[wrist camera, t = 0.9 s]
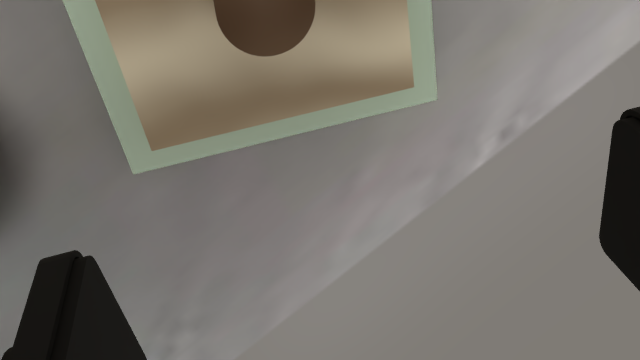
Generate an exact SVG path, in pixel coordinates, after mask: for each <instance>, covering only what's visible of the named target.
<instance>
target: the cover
mask: <svg viewBox="0 0 640 360" xmlns="http://www.w3.org/2000/svg"><path fill="white" fill-rule="evenodd" d="M95 2H96V4H97V7H98V10H99V12H100V15H101V18H102V20H103V23H104V26H105V28H106V31H107V34H108V36H109V39H110V42H111V44H112V47H113V50H114V52H115V55H116V58H117V60H118V63H119V66H120V68H121V71H122V74H123V76H124V79H125V82H126V84H127V87H128V90H129V92H130V95H131V98H132V100H133V103H134V105H135V108H136V111H137V113H138V116H139V119H140V121H141V124H142V127H143V129H144V132H145V135H146V137H147V140H148V143H149V145H150V148H151V151H155V150H159V149H163V148H167V147H171V146H175V145H179V144H183V143H188V142H192V141H196V140H200V139H204V138H208V137H212V136H216V135H220V134H224V133H229V132H233V131H237V130H241V129H245V128H249V127H253V126H257V125H261V124H266V123H270V122H274V121H278V120H282V119H286V118H290V117H294V116H298V115H302V114H307V113H311V112H315V111H319V110H323V109H327V108H331V107H335V106H339V105H344V104H348V103H352V102H356V101H360V100H364V99H368V98H372V97H376V96H380V95H385V94H389V93H393V92H397V91H401V90H405V89H409V88H413V87H414V78H413V66H412V54H411V43H410V31H409V19H408V7H407V0H95Z"/></svg>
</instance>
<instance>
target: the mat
mask: <svg viewBox="0 0 640 360" xmlns="http://www.w3.org/2000/svg"><path fill="white" fill-rule="evenodd" d="M63 3H64V5H65V8H66V10H67V13H68V15H69V18H70V20H71V23H72V25H73V27H74V30H75V32H76V35H77V37H78V40H79V42H80V45H81V47H82V50H83V52H84V55H85V57H86V59H87V62H88V64H89V67H90V69H91V72H92V74H93V77H94V79H95V82H96V84H97V87H98V89H99V91H100V94H101V96H102V99H103V101H104V104H105V106H106V109H107V111H108V114H109V116H110V118H111V121H112V123H113V126H114V128H115V131H116V133H117V136H118V138H119V141H120V143H121V146H122V148H123V150H124V153H125V155H126V158H127V160H128V163H129V165H130V168H131V170H132V173H133V175H134V174H138V173H142V172H146V171H150V170H154V169H158V168H162V167H166V166H170V165H175V164H179V163H183V162H187V161H191V160H195V159H199V158H203V157H207V156H211V155H215V154H219V153H223V152H227V151H231V150H236V149H240V148H244V147H248V146H252V145H256V144H260V143H264V142H268V141H272V140H276V139H280V138H284V137H288V136H292V135H296V134H301V133H305V132H309V131H313V130H317V129H321V128H325V127H329V126H333V125H337V124H341V123H345V122H349V121H353V120H357V119H362V118H366V117H370V116H374V115H378V114H382V113H386V112H390V111H394V110H398V109H402V108H406V107H410V106H414V105H418V104H422V103H427V102H431V101H435V100H437V85H436V69H435V52H434V36H433V20H432V3H431V0H407V7H408V19H409V31H410V43H411V54H412V66H413V78H414V87H413V88H409V89H405V90H401V91H397V92H393V93H389V94H385V95H380V96H376V97H372V98H368V99H364V100H360V101H356V102H352V103H348V104H344V105H339V106H335V107H331V108H327V109H323V110H319V111H315V112H311V113H307V114H302V115H298V116H294V117H290V118H286V119H282V120H278V121H274V122H270V123H266V124H261V125H257V126H253V127H249V128H245V129H241V130H237V131H233V132H229V133H224V134H220V135H216V136H212V137H208V138H204V139H200V140H196V141H192V142H188V143H183V144H179V145H175V146H171V147H167V148H163V149H159V150H155V151H151V148H150V145H149V143H148V140H147V137H146V135H145V132H144V129H143V127H142V124H141V121H140V119H139V116H138V113H137V111H136V108H135V105H134V103H133V100H132V98H131V95H130V92H129V90H128V87H127V84H126V82H125V79H124V76H123V74H122V71H121V68H120V66H119V63H118V60H117V58H116V55H115V52H114V50H113V47H112V44H111V42H110V39H109V36H108V34H107V31H106V28H105V26H104V23H103V20H102V18H101V15H100V12H99V10H98V7H97V4H96V2H95V0H63Z"/></svg>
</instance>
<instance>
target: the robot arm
mask: <svg viewBox="0 0 640 360" xmlns="http://www.w3.org/2000/svg"><path fill="white" fill-rule="evenodd" d="M599 238H600V243H601V246H602V248H603V250H604V252H605V253H606V255H607V256H608V257H609V258H610V259H611V260H612V261H613V262H614V263H615V264H616V266H617V267H618V268H619V269H620V270H621V271H622V272H623V273H624V274H625V276H626V277H627V278H628V279H629V280H630V281H631V282H632V283H633V284H634V285H635V287H636V288H637V289H638V290H639V291H640V107H637V108H633V109H629V110H626V111H625V112H623V114H622V115H621V118H620V120H618V121H617V122H616V123H615V124H614V126H613V130H612V138H611V146H610V154H609V162H608V170H607V177H606V185H605V194H604V202H603V209H602V217H601V225H600V234H599ZM1 360H147V359H146V356H145V354H144V352H143V350H142V349H141V347H140V345H139V343H138V341H137V339H136V337H135V335H134V333H133V331H132V329H131V327H130V326H129V324H128V322H127V320H126V318H125V316H124V314H123V312H122V310H121V308H120V306H119V304H118V303H117V301H116V299H115V297H114V295H113V293H112V291H111V289H110V287H109V285H108V283H107V281H106V280H105V278H104V276H103V274H102V272H101V270H100V268H99V266H98V264H97V262H96V261H95V259H94V258H93V257H92V256H86V257H83V256H82V254H81V253H80V252H79V251H76V250H74V251H70V252H66V253H63V254H59V255H55V256H51V257H47V258H43V259H42V260H40V262H39V264H38V267H37V270H36V273H35V276H34V280H33V283H32V286H31V289H30V293H29V296H28V299H27V302H26V306H25V309H24V312H23V315H22V319H21V322H20V325H19V328H18V332H17V335H16V338H15V341H14V345H13V347H12V348H9V349H8V350H7V351H6V352H5V353H4V355H3V357H2V359H1Z"/></svg>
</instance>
